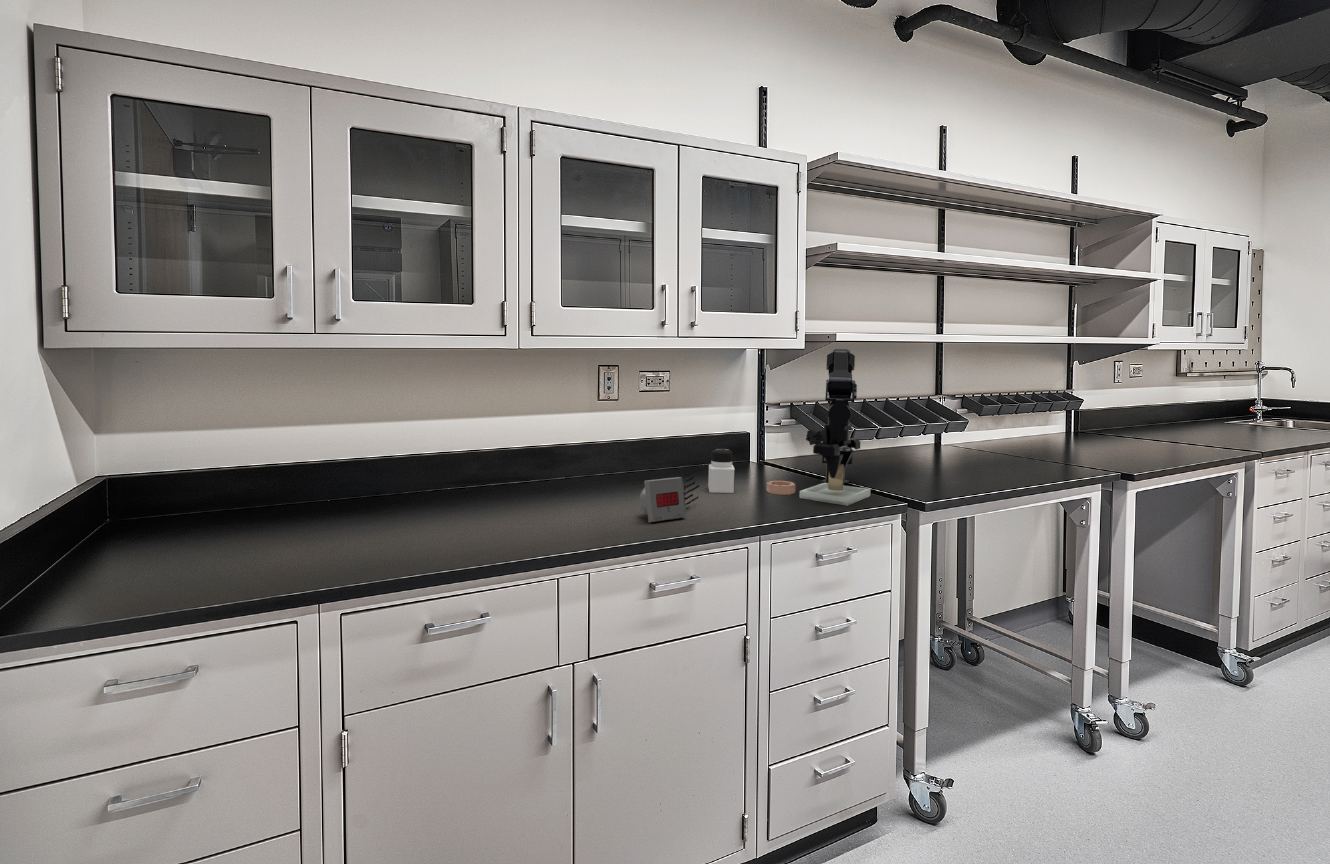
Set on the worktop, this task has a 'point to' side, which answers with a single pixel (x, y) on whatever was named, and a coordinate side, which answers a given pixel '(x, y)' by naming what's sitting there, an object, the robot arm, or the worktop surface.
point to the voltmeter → (666, 498)
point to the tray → (835, 494)
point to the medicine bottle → (721, 472)
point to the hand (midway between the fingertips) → (836, 476)
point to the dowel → (837, 480)
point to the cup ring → (780, 487)
